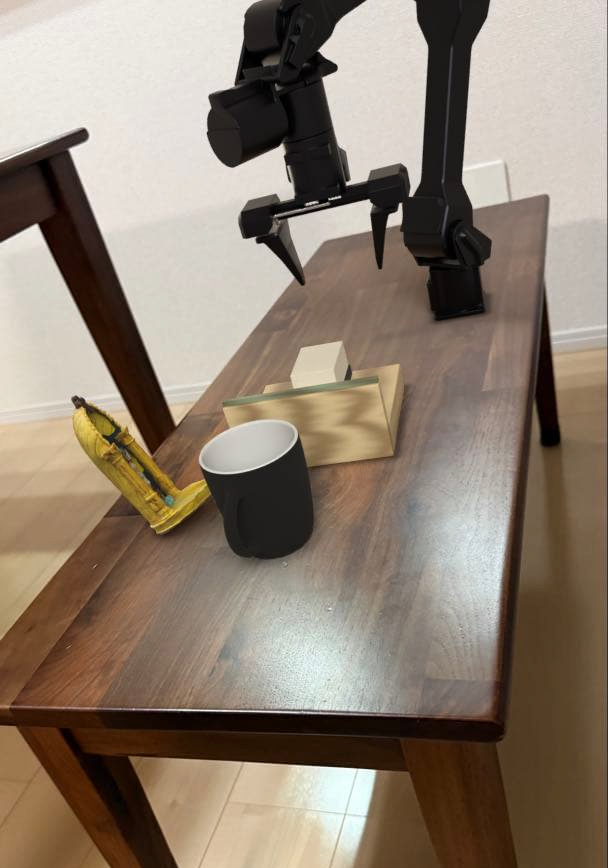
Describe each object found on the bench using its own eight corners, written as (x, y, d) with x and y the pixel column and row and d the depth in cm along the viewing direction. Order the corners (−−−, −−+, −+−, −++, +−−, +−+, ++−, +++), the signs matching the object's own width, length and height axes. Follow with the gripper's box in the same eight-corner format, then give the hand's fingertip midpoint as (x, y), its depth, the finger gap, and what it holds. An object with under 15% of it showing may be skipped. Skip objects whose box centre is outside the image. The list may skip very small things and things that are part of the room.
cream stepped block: (352, 373, 96) (344, 339, 94) (340, 417, 88) (331, 381, 85) (308, 380, 97) (299, 347, 95) (293, 424, 89) (282, 389, 87)
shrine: (106, 552, 84) (43, 420, 75) (138, 505, 90) (83, 378, 81) (210, 546, 80) (155, 406, 71) (236, 497, 86) (188, 363, 78)
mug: (252, 511, 83) (221, 421, 77) (337, 509, 79) (311, 415, 74) (204, 591, 74) (165, 496, 68) (298, 592, 71) (265, 492, 65)
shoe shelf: (404, 387, 97) (390, 316, 92) (393, 456, 85) (376, 379, 80) (272, 407, 101) (252, 341, 96) (245, 475, 89) (220, 403, 84)
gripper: (398, 95, 92) (424, 236, 101) (240, 138, 97) (277, 268, 106) (392, 117, 84) (420, 269, 92) (218, 162, 89) (260, 302, 97)
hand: (341, 276), depth 97 cm, fingers open, 9 cm apart
